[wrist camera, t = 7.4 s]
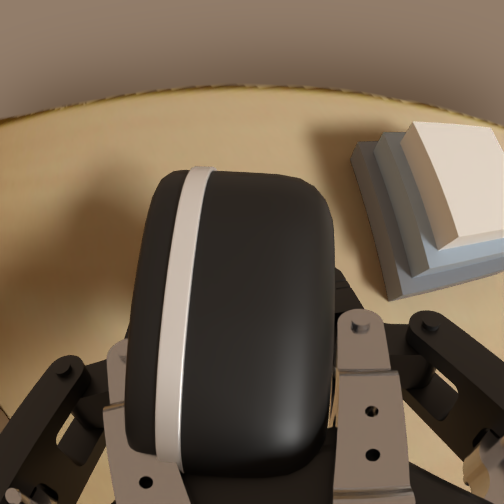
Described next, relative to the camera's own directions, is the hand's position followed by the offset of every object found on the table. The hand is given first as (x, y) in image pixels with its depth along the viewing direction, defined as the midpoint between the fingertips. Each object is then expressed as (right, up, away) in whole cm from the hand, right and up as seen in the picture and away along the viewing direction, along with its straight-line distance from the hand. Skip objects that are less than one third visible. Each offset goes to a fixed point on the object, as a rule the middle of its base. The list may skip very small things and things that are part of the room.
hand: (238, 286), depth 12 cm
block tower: (+15, +4, +11) cm, 20 cm away
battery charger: (0, -3, +4) cm, 5 cm away
